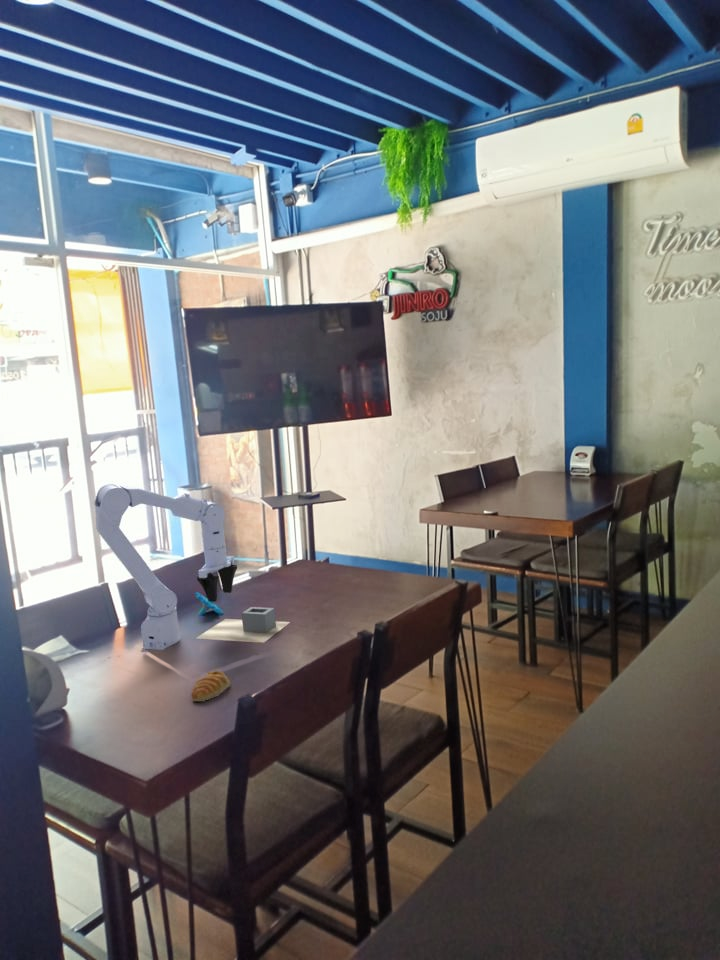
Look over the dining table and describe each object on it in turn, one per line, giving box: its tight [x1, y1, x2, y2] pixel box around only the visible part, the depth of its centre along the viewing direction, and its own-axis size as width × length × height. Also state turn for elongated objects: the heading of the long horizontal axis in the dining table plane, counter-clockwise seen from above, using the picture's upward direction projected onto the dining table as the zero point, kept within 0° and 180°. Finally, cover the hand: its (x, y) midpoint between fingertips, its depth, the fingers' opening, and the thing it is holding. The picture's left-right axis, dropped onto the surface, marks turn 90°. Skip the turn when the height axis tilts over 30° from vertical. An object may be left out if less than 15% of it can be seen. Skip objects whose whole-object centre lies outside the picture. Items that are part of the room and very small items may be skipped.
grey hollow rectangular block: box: [241, 606, 276, 633], centre depth 194 cm, size 5×7×5 cm
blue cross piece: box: [194, 591, 224, 616], centre depth 211 cm, size 11×6×10 cm
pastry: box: [190, 670, 231, 702], centre depth 158 cm, size 9×7×4 cm
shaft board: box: [195, 618, 291, 644], centre depth 194 cm, size 15×20×1 cm
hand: (220, 596), depth 197 cm, fingers open, 7 cm apart
